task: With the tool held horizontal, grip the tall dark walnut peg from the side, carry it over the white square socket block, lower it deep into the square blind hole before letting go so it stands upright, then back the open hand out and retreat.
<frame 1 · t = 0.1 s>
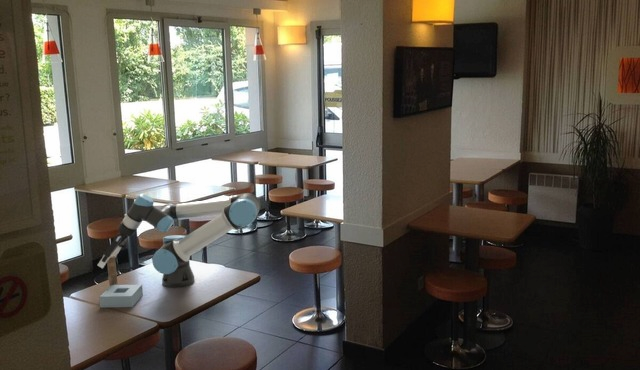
hand: (106, 261, 263), 15 cm above the table, fingers open, 13 cm apart
walnut peg: (114, 291, 267), on the table
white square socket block: (122, 301, 256), on the table
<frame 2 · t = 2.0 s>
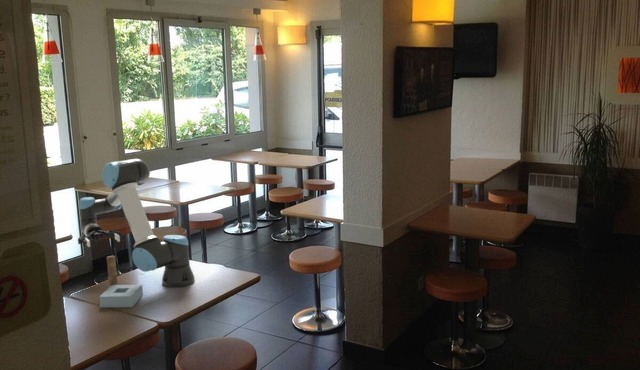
hand: (104, 241, 271), 22 cm above the table, fingers open, 13 cm apart
nothing on the table moved.
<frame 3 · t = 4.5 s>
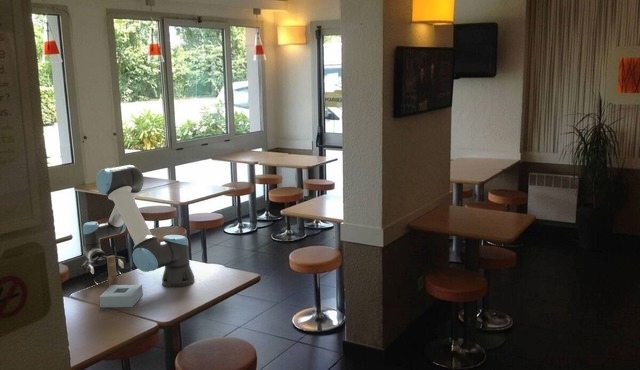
hand: (108, 268, 270), 10 cm above the table, fingers open, 13 cm apart
nothing on the table moved.
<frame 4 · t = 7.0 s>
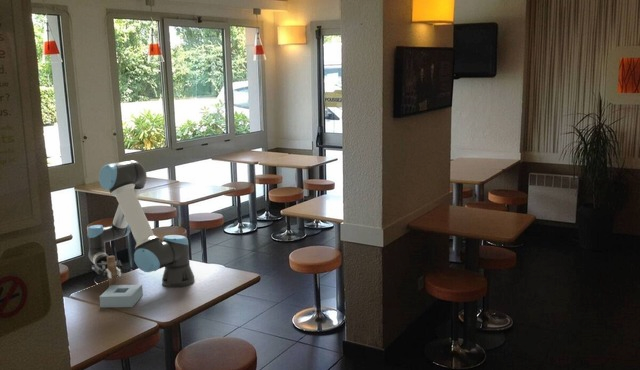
hand: (115, 274, 261), 10 cm above the table, fingers closed on walnut peg, 3 cm apart
walnut peg: (114, 291, 267), on the table, touching gripper
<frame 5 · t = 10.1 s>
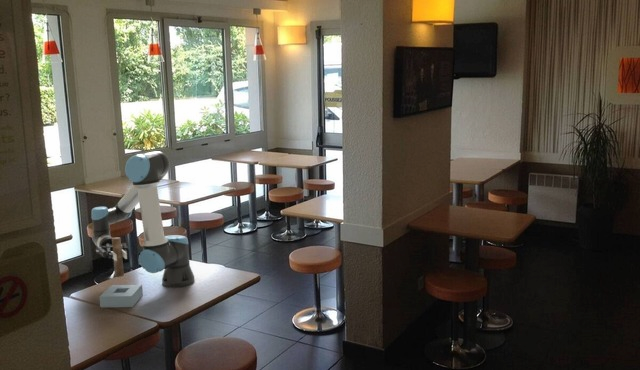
hand: (120, 256, 247), 22 cm above the table, fingers closed on walnut peg, 3 cm apart
walnut peg: (119, 275, 254), point 12 cm above the table, touching gripper
when the fingers open (11 cm above the table, at t = 13.4 s): walnut peg stays where it is, resting on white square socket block.
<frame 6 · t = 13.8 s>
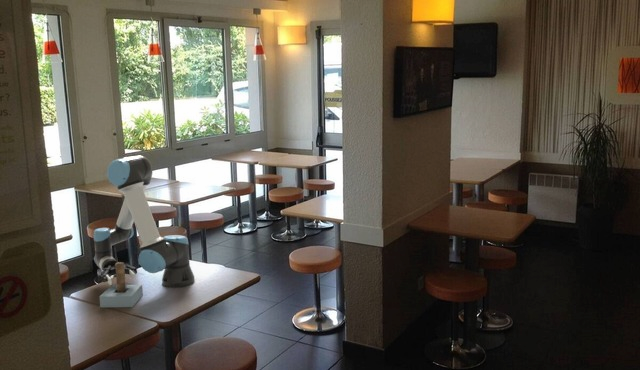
hand: (122, 279, 250), 12 cm above the table, fingers open, 9 cm apart
walnut peg: (122, 299, 256), point 1 cm above the table, touching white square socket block
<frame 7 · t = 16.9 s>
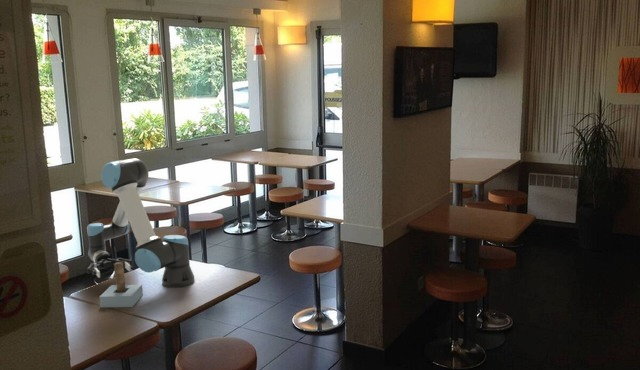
hand: (114, 271, 260), 12 cm above the table, fingers open, 13 cm apart
nothing on the table moved.
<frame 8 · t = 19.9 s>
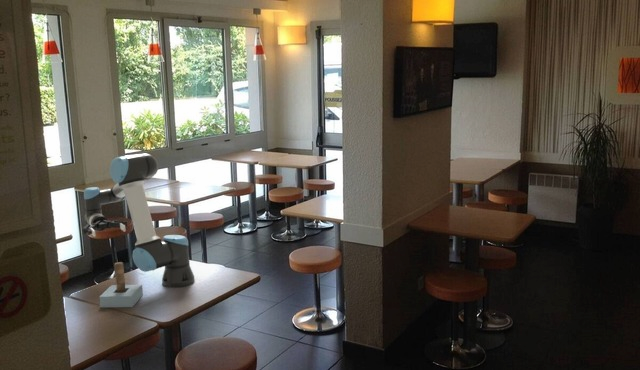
hand: (109, 231, 266), 28 cm above the table, fingers open, 13 cm apart
nothing on the table moved.
at the end: walnut peg 0.1 cm off-centre on the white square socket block, point 0.5 cm above the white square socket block's base; walnut peg tilted 0°; the gripper is holding nothing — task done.
